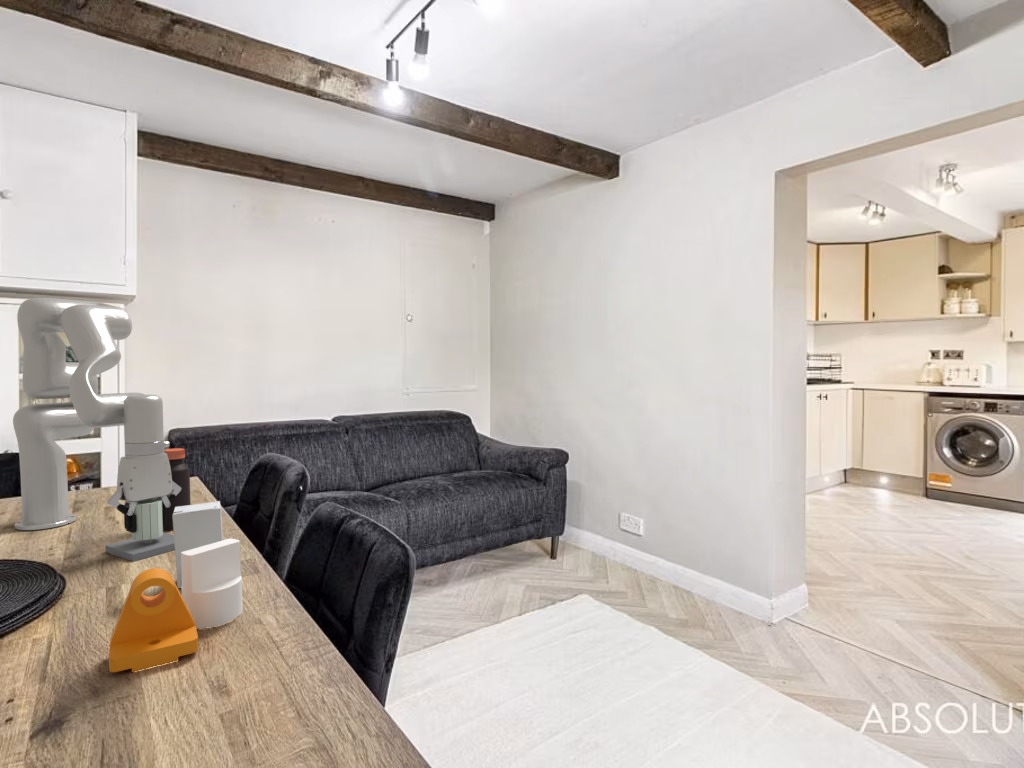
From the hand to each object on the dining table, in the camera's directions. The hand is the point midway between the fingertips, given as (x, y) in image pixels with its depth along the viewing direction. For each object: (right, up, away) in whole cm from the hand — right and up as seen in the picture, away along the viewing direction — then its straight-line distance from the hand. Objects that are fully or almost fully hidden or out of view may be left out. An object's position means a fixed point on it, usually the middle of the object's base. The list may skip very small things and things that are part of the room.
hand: (147, 527), depth 132 cm
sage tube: (0, -2, 0) cm, 2 cm away
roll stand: (0, -5, 0) cm, 5 cm away
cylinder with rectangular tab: (+33, -7, -35) cm, 48 cm away
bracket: (+31, -7, -47) cm, 57 cm away
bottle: (-4, -4, +17) cm, 18 cm away
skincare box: (+22, -6, -19) cm, 30 cm away
